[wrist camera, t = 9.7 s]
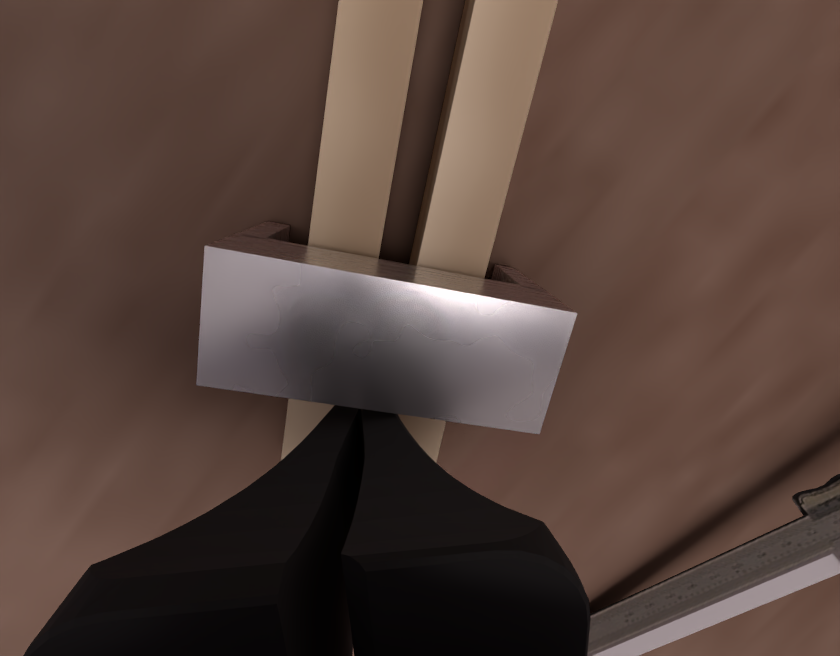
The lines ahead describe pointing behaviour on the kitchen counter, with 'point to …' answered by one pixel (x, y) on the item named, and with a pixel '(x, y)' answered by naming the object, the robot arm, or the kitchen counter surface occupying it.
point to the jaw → (480, 132)
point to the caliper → (727, 581)
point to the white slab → (378, 332)
